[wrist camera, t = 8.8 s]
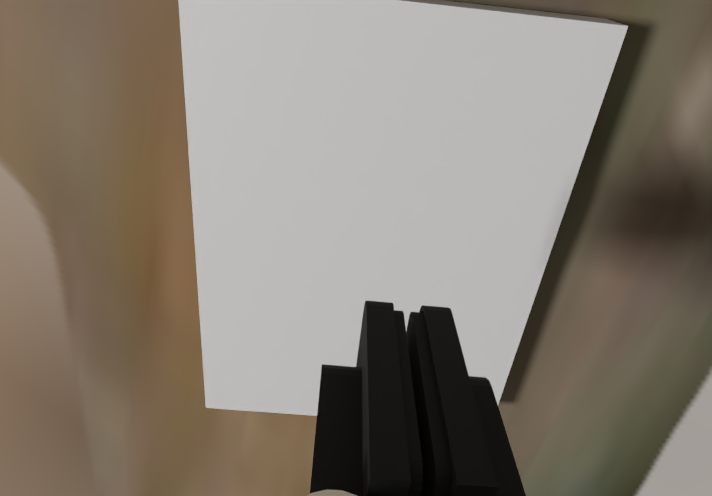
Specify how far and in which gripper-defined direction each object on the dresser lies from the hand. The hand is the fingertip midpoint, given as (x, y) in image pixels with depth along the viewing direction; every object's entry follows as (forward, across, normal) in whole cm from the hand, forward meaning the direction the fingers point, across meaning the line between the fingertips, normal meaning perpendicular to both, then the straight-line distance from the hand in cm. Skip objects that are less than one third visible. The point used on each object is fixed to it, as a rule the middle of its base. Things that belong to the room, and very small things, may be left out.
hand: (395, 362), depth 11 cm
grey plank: (+9, 0, +2) cm, 9 cm away
